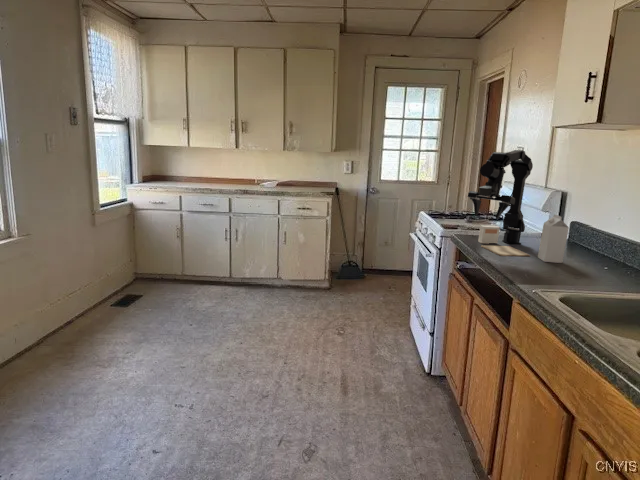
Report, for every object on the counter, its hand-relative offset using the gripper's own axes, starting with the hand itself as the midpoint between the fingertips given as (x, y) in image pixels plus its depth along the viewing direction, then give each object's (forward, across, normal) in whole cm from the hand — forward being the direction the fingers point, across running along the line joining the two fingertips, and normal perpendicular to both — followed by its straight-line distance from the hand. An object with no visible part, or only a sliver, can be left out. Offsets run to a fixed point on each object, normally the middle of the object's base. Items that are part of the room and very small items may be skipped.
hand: (486, 217), depth 186 cm
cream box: (+10, -7, +24) cm, 27 cm away
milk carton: (+13, +24, +15) cm, 31 cm away
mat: (+13, +6, +14) cm, 19 cm away
